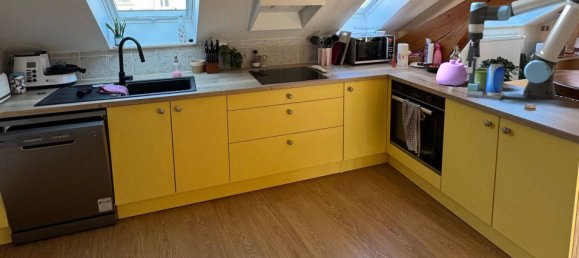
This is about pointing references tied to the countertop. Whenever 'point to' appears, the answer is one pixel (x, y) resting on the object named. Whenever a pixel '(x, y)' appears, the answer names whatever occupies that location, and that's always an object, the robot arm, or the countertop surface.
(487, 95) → the press frame
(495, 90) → the beer can
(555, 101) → the countertop surface
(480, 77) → the plant pot
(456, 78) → the teapot
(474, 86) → the press ram
